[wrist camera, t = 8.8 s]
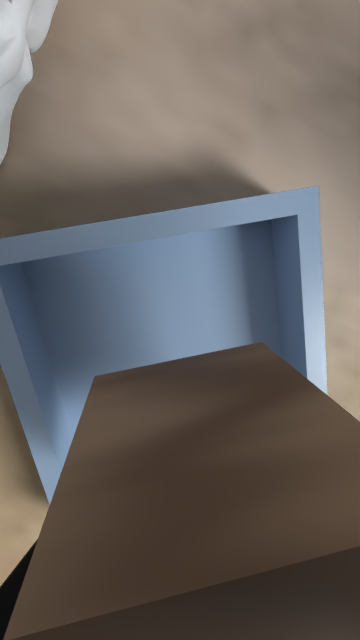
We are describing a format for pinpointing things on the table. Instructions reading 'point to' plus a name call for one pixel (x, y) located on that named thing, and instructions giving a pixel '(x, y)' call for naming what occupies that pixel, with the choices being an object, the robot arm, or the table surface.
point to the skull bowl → (19, 52)
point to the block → (201, 510)
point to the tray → (154, 302)
